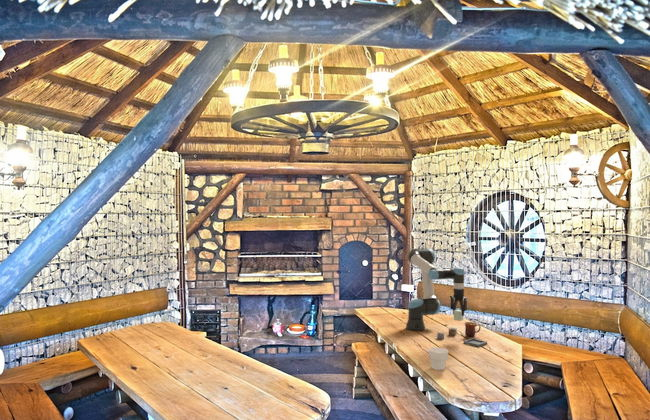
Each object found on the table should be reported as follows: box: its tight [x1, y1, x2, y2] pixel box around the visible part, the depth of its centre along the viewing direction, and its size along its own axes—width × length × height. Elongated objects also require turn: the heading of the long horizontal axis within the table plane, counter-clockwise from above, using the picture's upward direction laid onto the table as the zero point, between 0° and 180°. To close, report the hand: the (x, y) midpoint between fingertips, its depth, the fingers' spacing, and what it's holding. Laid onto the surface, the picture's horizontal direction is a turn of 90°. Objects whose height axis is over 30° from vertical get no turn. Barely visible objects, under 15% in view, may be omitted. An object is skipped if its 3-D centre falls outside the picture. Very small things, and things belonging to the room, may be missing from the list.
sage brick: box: [453, 309, 462, 322], centre depth 387 cm, size 5×5×7 cm
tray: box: [463, 337, 488, 348], centre depth 377 cm, size 12×12×2 cm
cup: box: [428, 346, 449, 371], centre depth 322 cm, size 12×12×11 cm
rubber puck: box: [436, 331, 445, 340], centre depth 390 cm, size 5×5×4 cm
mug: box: [464, 321, 481, 338], centre depth 397 cm, size 12×9×10 cm
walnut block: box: [448, 327, 458, 337], centre depth 401 cm, size 5×5×5 cm
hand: (458, 319), depth 387 cm, fingers closed on sage brick, 5 cm apart
